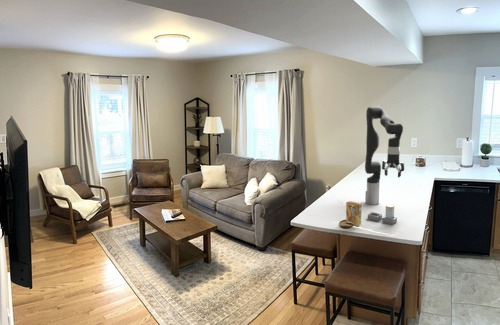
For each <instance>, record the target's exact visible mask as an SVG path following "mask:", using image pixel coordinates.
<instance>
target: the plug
mask: <svg viewBox="0 0 500 325" xmlns="http://www.w3.org/2000/svg"><path fill="white" fill-rule="evenodd" d="M385 216H386V217H385V218H388V219H394V217H395V205H392V204H387V205H385Z"/></svg>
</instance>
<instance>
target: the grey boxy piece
mask: <svg viewBox="0 0 500 325" xmlns="http://www.w3.org/2000/svg"><path fill="white" fill-rule="evenodd" d="M385 217H386V215H384V216H383V214H382V213H377V212H373V211H372V212H370V213H368V214H367V218H366V219H365V221H369V222H373V223H378V224H382V225H388V226H394V225H395V224H396V223H399V220H398V217H397V216H394V219H388V218H385Z"/></svg>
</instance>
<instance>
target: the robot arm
mask: <svg viewBox="0 0 500 325" xmlns="http://www.w3.org/2000/svg"><path fill="white" fill-rule="evenodd" d="M366 108H367V109H366V112H365V113H366V116H365V117H366V142H365V143H366V149H365V150H366V152H365V154H366V155H365V164H364V170H365V173H366V174H367V175H371V174H372V175H371V176H368V177H367V179H366V191H365V201H364V202H365V204H367V205H372V206H373V205H374V206H375V205H379V203H380V202H379V200H380V180H381V172H382V170H384V175H385V176H386V177H387V176H388V172H389V171H388V169H389V168H390V169H391V168H392V169H396V170H397V171H398V172H397V178H400V177H401V176H402V172H404V171H405V162H400V141H401V138H402V135H403V132H404V126H403V124H402V123H395V121H394V120H393V119H391V117H389V116H388V114H387V113H386V112H385V110H384V109H383V108H382V107H381V106H378V105H377V106H368V107H366ZM377 119H378V120H379V119H380V120H379V123H380V124H381V126H382V127H383V128H384V129H385V132H386V134H387V135H394V136H393V137H389V138H388V144H387V156H386V157H387V160H385V159H384V160H382V161H381V162H382V164H381V162H380V161H373V158H374V154H375V152H376V151H377V150H378V148H379V147H380V135H379V133H378V131H377V129H376V127H375V126H374V120H377ZM386 164H387V165H386Z"/></svg>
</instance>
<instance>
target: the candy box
mask: <svg viewBox="0 0 500 325" xmlns="http://www.w3.org/2000/svg"><path fill="white" fill-rule="evenodd" d="M345 203H346V204H345V206H346V209H345V211H346V212H345V213H346V218H345V222H346V221H350V222H352V223H353V224H352V225H354V226H355V227H358V228H359V226H361V225H362V203H361V202H357V201H352V200H348V201H346V202H345Z"/></svg>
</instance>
